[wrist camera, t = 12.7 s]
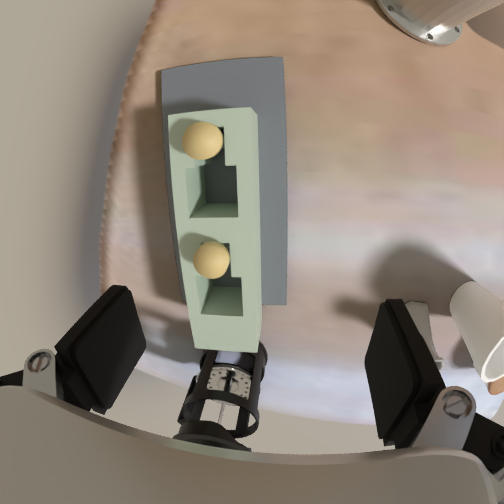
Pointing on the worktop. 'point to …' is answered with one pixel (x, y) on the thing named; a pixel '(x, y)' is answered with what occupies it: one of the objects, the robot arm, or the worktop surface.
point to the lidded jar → (496, 386)
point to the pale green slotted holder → (220, 231)
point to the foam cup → (481, 327)
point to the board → (225, 177)
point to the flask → (424, 327)
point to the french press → (222, 400)
